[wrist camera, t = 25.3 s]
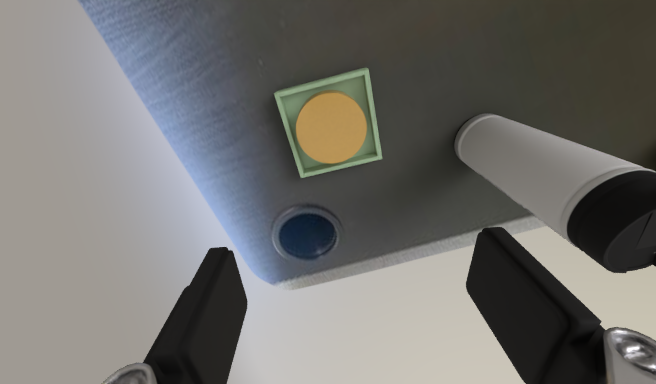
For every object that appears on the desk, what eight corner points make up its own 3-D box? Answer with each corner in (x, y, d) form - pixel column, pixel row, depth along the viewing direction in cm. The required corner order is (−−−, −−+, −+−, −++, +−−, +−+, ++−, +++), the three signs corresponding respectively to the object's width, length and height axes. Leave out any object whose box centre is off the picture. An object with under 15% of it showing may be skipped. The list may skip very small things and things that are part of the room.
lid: (294, 152, 32) (293, 160, 30) (298, 85, 28) (297, 88, 26) (357, 158, 32) (360, 166, 30) (368, 93, 29) (373, 97, 27)
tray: (301, 171, 34) (300, 178, 32) (276, 91, 29) (273, 93, 27) (378, 153, 33) (382, 159, 31) (365, 67, 28) (368, 68, 27)
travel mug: (507, 103, 31) (771, 176, 13) (504, 156, 34) (713, 274, 16) (452, 117, 31) (632, 205, 13) (453, 168, 34) (602, 295, 16)
